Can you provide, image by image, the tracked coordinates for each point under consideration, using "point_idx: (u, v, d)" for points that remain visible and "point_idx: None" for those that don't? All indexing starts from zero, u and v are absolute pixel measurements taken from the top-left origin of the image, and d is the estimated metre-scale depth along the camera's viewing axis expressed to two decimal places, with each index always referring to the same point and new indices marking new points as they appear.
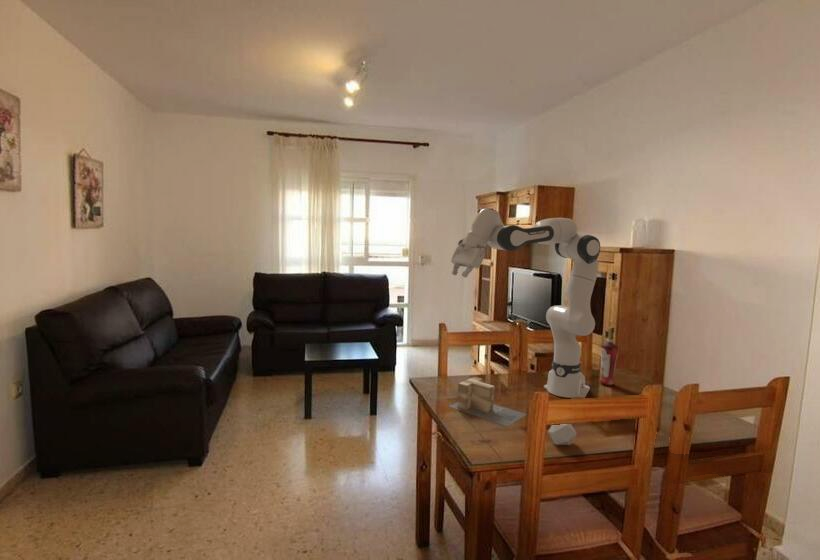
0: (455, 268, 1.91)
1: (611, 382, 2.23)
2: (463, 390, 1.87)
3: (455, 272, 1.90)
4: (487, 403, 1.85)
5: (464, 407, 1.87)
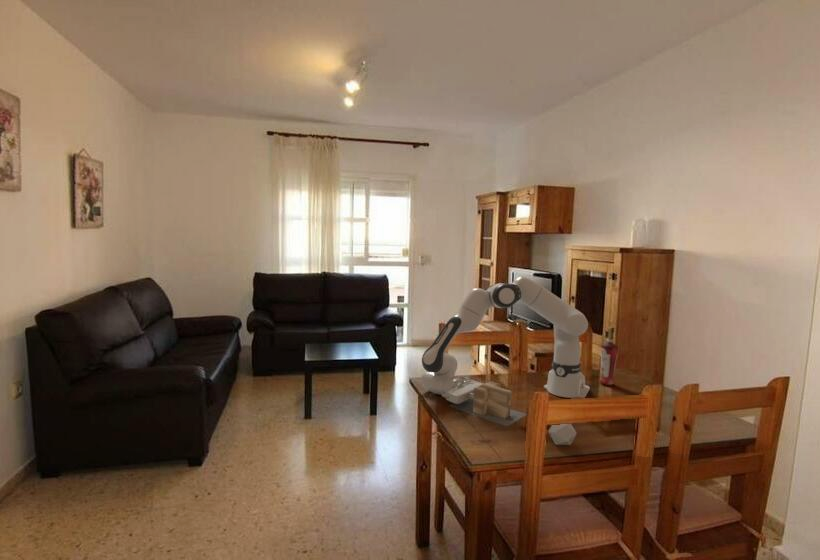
0: None
1: (611, 382, 2.23)
2: (479, 395, 1.82)
3: None
4: (504, 409, 1.80)
5: (480, 413, 1.82)
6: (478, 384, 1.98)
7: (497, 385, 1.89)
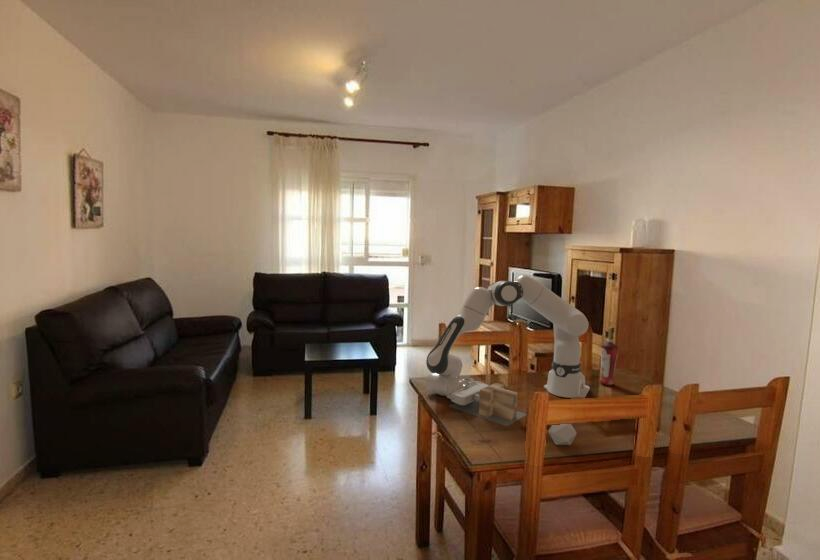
0: None
1: (611, 382, 2.23)
2: (485, 397, 1.80)
3: None
4: (510, 411, 1.78)
5: (486, 415, 1.80)
6: (483, 385, 1.97)
7: (503, 387, 1.87)
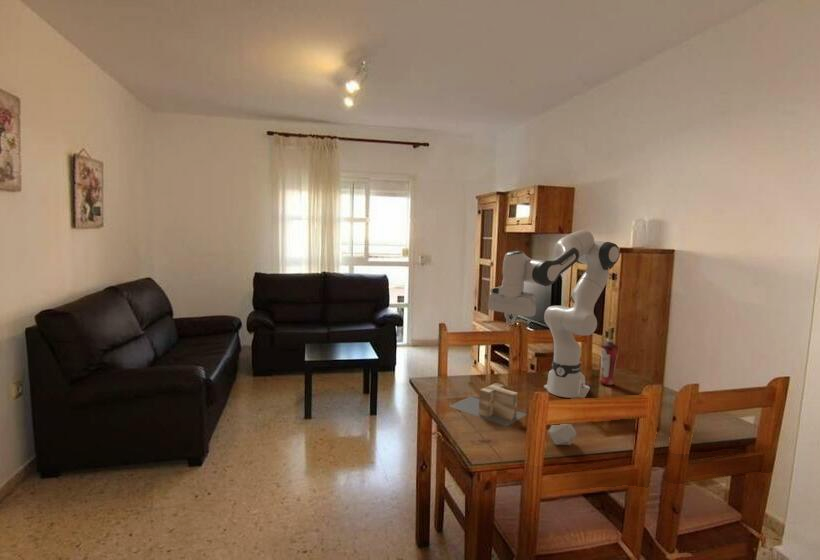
0: (507, 317, 1.92)
1: (611, 382, 2.23)
2: (485, 397, 1.80)
3: None
4: (510, 411, 1.78)
5: (486, 415, 1.80)
6: None
7: (503, 387, 1.87)
